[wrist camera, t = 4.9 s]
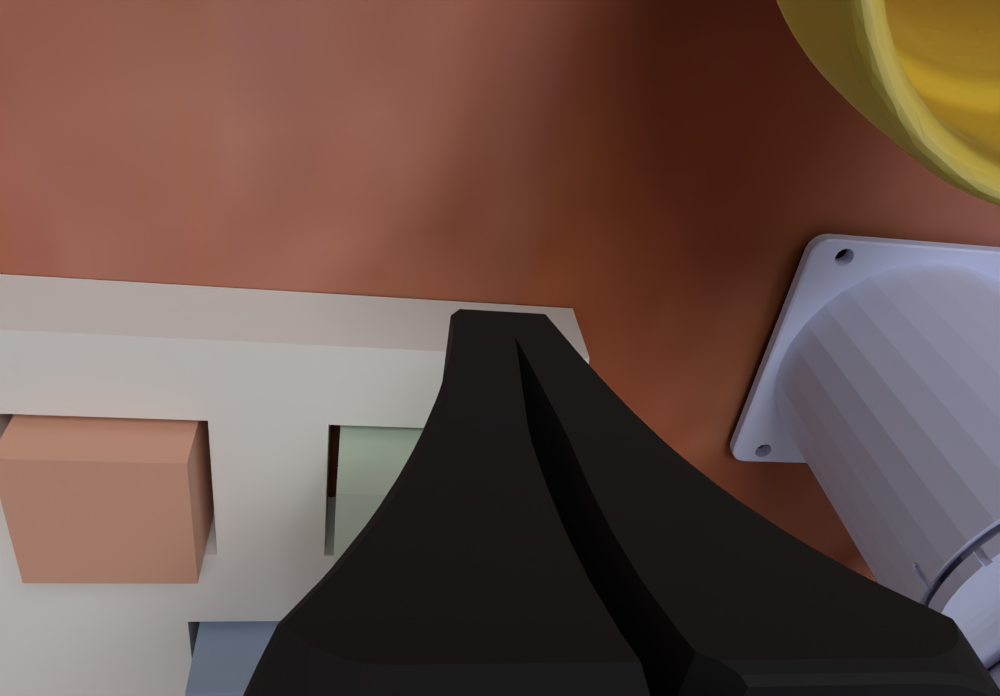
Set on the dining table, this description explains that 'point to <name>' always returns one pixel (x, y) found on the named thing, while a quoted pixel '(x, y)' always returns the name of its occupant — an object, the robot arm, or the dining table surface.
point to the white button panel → (233, 449)
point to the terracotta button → (107, 498)
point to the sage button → (367, 475)
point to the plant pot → (916, 76)
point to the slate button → (227, 656)
